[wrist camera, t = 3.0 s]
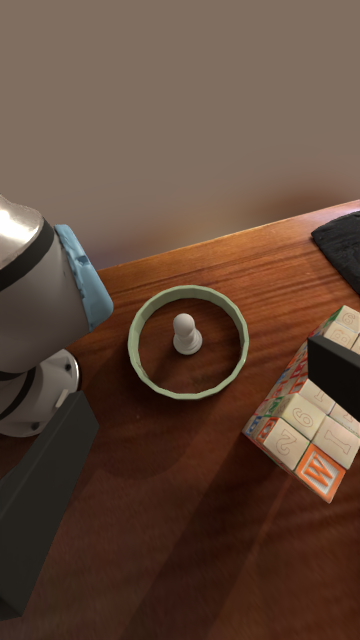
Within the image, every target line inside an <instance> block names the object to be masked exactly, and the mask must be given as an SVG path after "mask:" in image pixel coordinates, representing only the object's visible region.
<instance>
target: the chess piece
mask: <svg viewBox="0 0 360 640" xmlns="http://www.w3.org/2000/svg"><path fill="white" fill-rule="evenodd" d="M173 327H174V330H175V336H174V339H173V343H174V347H175V348H176V350H177V351H178V352H180V353H182V354H186V355H189V354H193V353H195V352H197V351H198V350H199V349H200V347H201V345H202V336H201V334H200V333H199V331H197V330H196V329H195V326H194V320H193V318H192V317H191V316H190V315H188V314H180V315H178V316H176V317H175V319H174V321H173Z"/></svg>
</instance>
